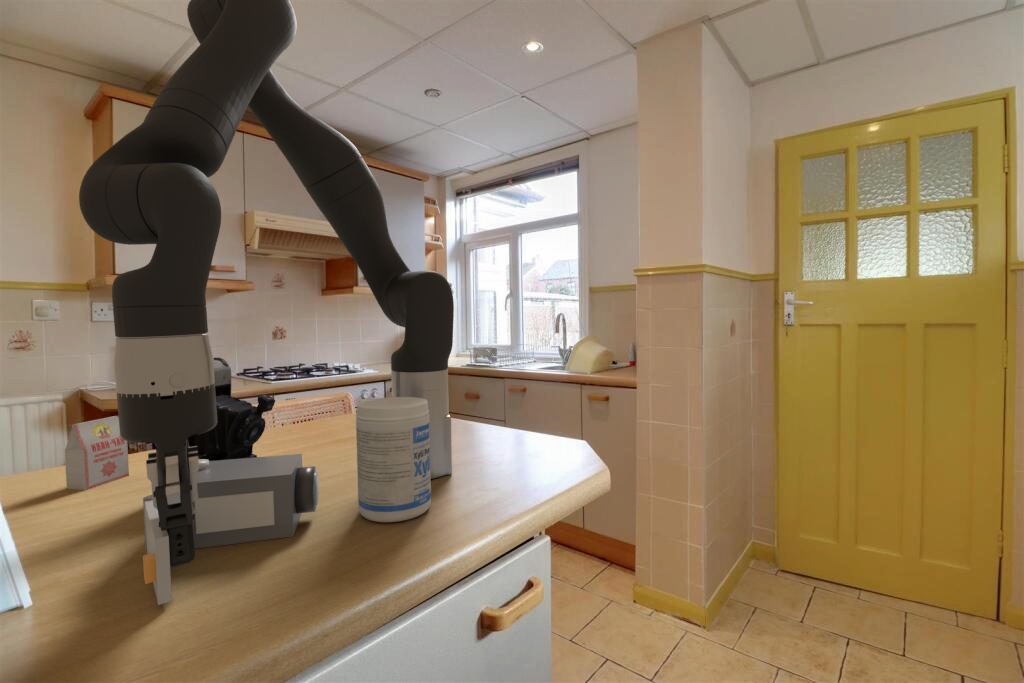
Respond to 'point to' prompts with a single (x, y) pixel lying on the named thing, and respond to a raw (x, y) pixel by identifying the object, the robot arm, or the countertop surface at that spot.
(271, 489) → the camera housing
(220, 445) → the vintage camera
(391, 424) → the supplement tub
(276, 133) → the robot arm
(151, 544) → the side door
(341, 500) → the countertop surface
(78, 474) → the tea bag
